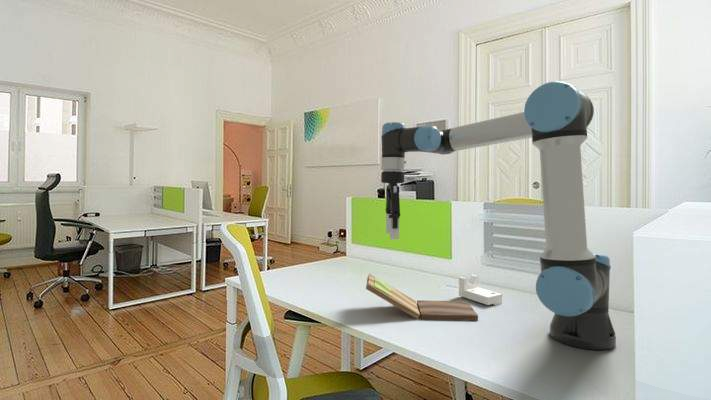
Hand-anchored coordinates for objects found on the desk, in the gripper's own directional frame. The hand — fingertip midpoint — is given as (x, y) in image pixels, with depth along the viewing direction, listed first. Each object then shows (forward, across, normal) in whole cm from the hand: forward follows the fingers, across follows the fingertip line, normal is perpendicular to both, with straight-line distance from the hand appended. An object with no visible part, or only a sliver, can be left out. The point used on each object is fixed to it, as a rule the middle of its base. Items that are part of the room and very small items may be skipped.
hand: (392, 235), depth 128 cm
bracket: (+24, +7, -32) cm, 41 cm away
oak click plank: (+19, -4, +1) cm, 20 cm away
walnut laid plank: (+24, -5, -17) cm, 29 cm away
